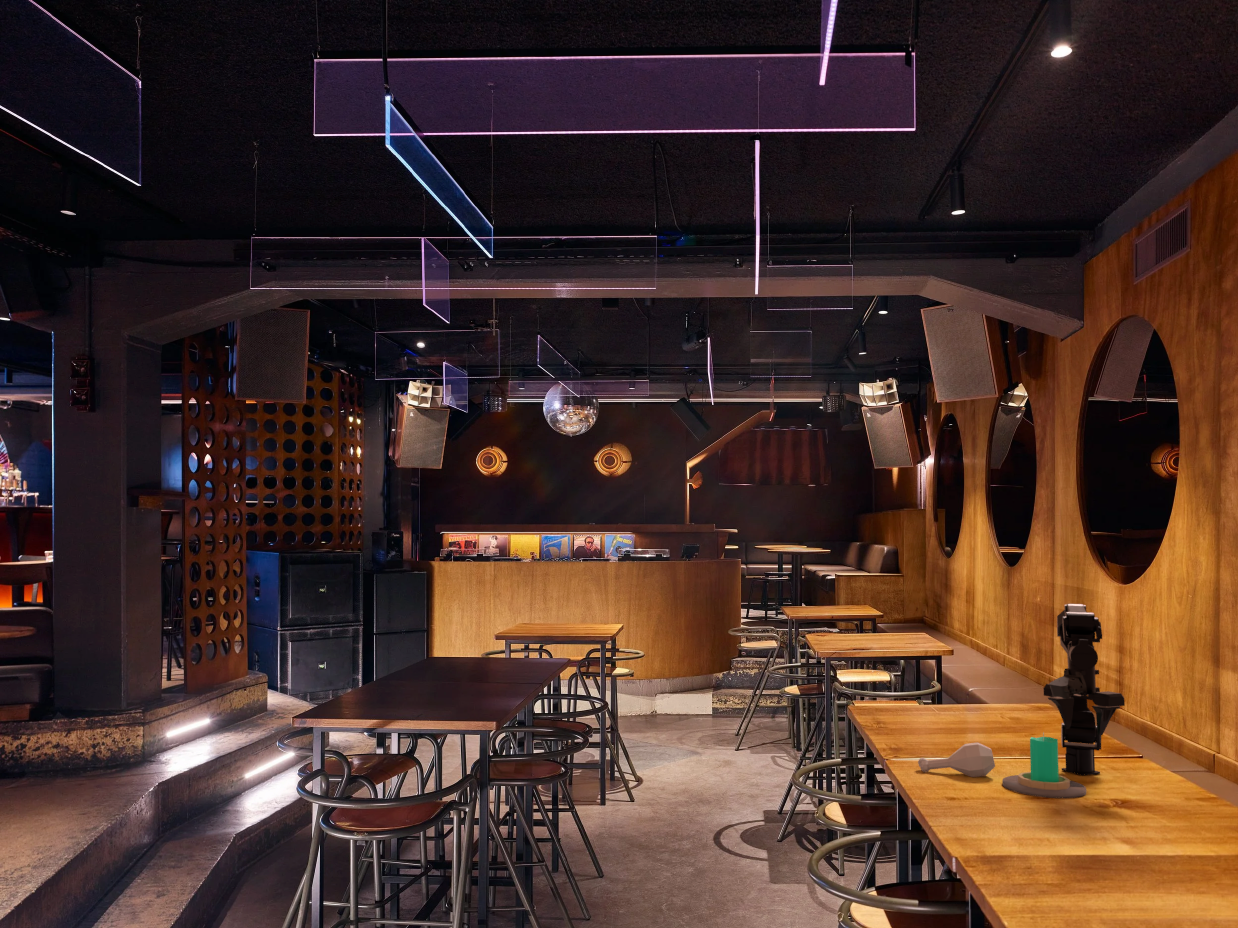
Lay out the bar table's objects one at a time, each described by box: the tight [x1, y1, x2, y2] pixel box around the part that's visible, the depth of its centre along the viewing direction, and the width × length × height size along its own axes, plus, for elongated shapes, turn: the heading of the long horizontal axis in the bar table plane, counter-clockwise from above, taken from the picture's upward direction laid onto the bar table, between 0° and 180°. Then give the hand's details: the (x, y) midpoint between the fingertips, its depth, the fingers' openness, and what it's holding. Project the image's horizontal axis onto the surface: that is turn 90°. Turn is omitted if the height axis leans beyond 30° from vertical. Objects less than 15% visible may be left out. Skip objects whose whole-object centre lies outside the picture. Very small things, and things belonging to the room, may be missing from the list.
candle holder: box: [1001, 771, 1087, 799], centre depth 222 cm, size 18×18×2 cm
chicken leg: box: [917, 742, 996, 778], centre depth 236 cm, size 8×18×8 cm, turn 70°
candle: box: [1029, 731, 1060, 782], centre depth 223 cm, size 6×6×12 cm
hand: (1083, 731), depth 224 cm, fingers open, 9 cm apart
